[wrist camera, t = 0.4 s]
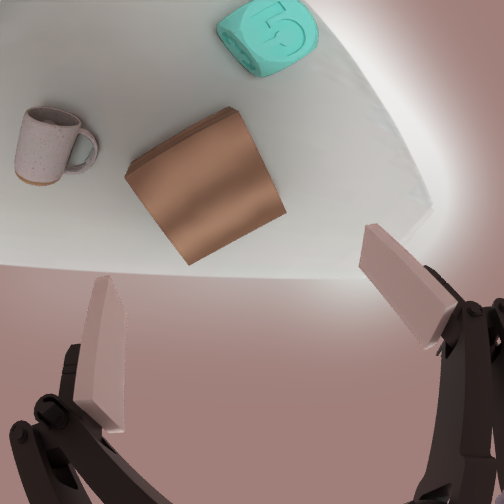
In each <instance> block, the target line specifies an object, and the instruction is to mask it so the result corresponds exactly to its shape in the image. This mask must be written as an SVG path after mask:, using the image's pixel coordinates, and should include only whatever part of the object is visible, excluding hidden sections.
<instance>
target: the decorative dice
mask: <svg viewBox="0 0 504 504" xmlns="http://www.w3.org/2000/svg"><path fill="white" fill-rule="evenodd" d="M217 32H218V34H219V36H220V38H221V40H222V41H223V43H224V44H225V46H226V47H227V48H228V50H229V51H230V52H231V53H232V54H233V56H234V57H235V58H236V59H237V60H238V61H239V62H240V63H241V64H242V65H243V66H244V67H245V68H246V69H247V70H248V71H249V72H251V73H252V74H254V75H255V76H257V77H266V76H269V75H271V74H274V73H276V72H278V71H280V70H282V69H284V68H286V67H288V66H290V65H291V64H293V63H295V62H297V61H298V60H300V59H301V58H303V57H305V56H306V55H307V54H309V53H310V52H312V51H313V50H314V49H315V48H316V47H317V43H318V37H319V32H318V27H317V24H316V22H315V20H314V18H313V16H312V15H311V13H310V12H309V11H308V9H307V8H306V7H305V6H304V5H303V4H302V3H301V2H300V1H299V0H252V1H250V2H248V3H247V4H245V5H243V6H242V7H240V8H239V9H237V10H236V11H234V12H233V13H231V14H230V15H228V16H227V17H226V18H224V19H223V20H222V21H221V22H219V23H218V24H217Z"/></svg>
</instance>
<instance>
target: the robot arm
mask: <svg viewBox="0 0 504 504" xmlns="http://www.w3.org/2000/svg"><path fill="white" fill-rule="evenodd" d="M359 268H360V269H361V270H362V271H363V272H364V273H365V275H366V276H367V277H368V278H369V279H370V281H371V282H372V283H373V284H374V285H375V287H376V288H377V289H378V290H379V292H380V293H381V294H382V295H383V297H384V298H385V299H386V300H387V301H388V303H389V304H390V305H391V307H392V308H393V309H394V310H395V312H396V313H397V314H398V315H399V317H400V318H401V319H402V321H403V322H404V323H405V325H406V326H407V327H408V328H409V330H410V331H411V332H412V334H413V335H414V336H415V338H416V339H417V340H418V342H419V343H420V344H421V346H422V347H423V348H424V350H426V349H428V348H430V347H432V346H434V345H436V343H437V342H438V340H439V338H440V336H442V338H443V339H444V341H443V343H442V345H441V346H440V348H439V350H438V351H437V354H436V356H438V355H439V354H440V352H441V351H442V355H441V357H442V359H441V376H440V388H439V398H438V407H437V415H436V422H435V428H434V434H433V440H432V446H431V450H430V455H429V460H428V465H427V469H426V472H425V475H424V477H423V478H422V480H421V481H420V483H419V485H418V487H417V489H416V492H415V495H414V499H413V501H410V502H407V503H405V504H447V501H448V500H449V498H450V501H449V504H491V501H492V496H493V491H494V485H495V479H496V472H497V473H498V480H499V484H500V489H501V492H502V494H501V495H499V496H498V497H497V498H496V501H495V504H504V299H503V298H497V299H496V300H495V301H494V302H493V304H492V306H491V307H482V306H481V305H479V304H478V303H476V302H473V301H467V302H465V301H464V300H463V299H462V298H461V297H460V295H459V294H458V293H457V292H456V291H455V290H454V289H453V288H452V287H451V286H450V285H449V284H448V283H446V281H445V280H444V279H443V278H441V276H440V275H439V274H438V273H437V272H436V271H435V270H433V269H432V268H430V267H428V266H426V265H425V266H422V265H421V264H420V263H419V262H418V261H417V260H416V259H415V258H414V257H413V256H412V255H411V254H410V253H409V252H408V251H407V250H406V249H405V248H404V247H402V246H401V245H400V244H399V243H398V242H397V241H396V240H395V239H394V238H393V237H392V236H390V235H389V234H388V233H387V232H386V231H385V230H384V229H383V228H382V227H380V226H379V225H378V224H377V223H376V224H370V225H365V232H364V239H363V245H362V251H361V257H360V262H359ZM127 319H128V315H127V313H126V311H125V309H124V307H123V304H122V302H121V300H120V298H119V296H118V293H117V291H116V289H115V287H114V284H113V282H112V279H111V277H110V275H108V276H104V277H98V278H96V279H95V283H94V287H93V291H92V295H91V299H90V303H89V307H88V312H87V317H86V321H85V326H84V331H83V336H82V342H81V344H74V345H71V346H70V348H69V349H68V351H67V353H66V355H65V360H64V367H63V370H62V376H61V383H60V390H59V396H56V395H54V394H46V395H44V396H42V397H41V398H40V399H39V400H38V401H37V402H36V405H35V407H34V416H35V419H36V420H37V421H38V422H39V423H37V424H35V425H32V426H31V425H30V424H29V423H27V422H26V421H22V420H21V421H17V422H16V423H15V424H13V426H12V428H11V429H10V434H9V438H10V443H11V447H12V451H13V455H14V459H15V462H16V465H17V468H18V472H19V475H20V478H21V481H22V484H23V487H24V490H25V492H26V495H27V498H28V500H29V503H30V504H92V502H91V501H90V499H89V497H88V495H87V493H86V491H85V490H84V487H83V485H82V483H81V482H80V479H79V477H78V476H77V473H76V471H75V469H76V470H77V472H78V473H79V474H80V475H81V477H82V478H83V479H84V481H85V482H86V483H87V484H88V485H89V487H90V488H91V489H92V490H93V491H94V493H95V494H96V495H97V496H98V497H99V498H100V499H101V501H102V502H103V503H104V504H172V503H171V502H170V501H169V500H167V499H166V498H165V497H164V496H163V495H161V494H160V493H159V492H158V491H157V490H156V489H155V488H153V487H152V486H151V485H150V484H149V483H148V482H147V481H146V480H145V479H143V478H142V477H141V476H140V475H139V474H138V473H137V472H136V471H135V470H134V469H133V468H132V467H131V466H130V465H129V464H128V463H127V462H126V461H125V460H124V459H123V458H122V457H121V456H120V455H119V454H118V452H116V451H115V449H114V448H113V447H112V446H111V445H110V444H109V443H108V442H107V440H106V439H105V438H104V437H102V428H103V429H104V430H105V431H107V432H108V433H117V432H125V415H124V414H125V411H124V383H125V382H124V381H125V351H126V333H127ZM499 337H500V340H501V343H500V344H499V345H498V343H497V340H498V338H499ZM492 428H493V435H494V443H495V452H496V459H495V458H494V457H492V456H491V454H490V448H491V435H492ZM74 468H75V469H74Z"/></svg>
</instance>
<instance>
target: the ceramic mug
mask: <svg viewBox="0 0 504 504" xmlns="http://www.w3.org/2000/svg"><path fill="white" fill-rule="evenodd" d="M78 134H83V135H85V136H86V137H88V138H89V139H90V140H91V141H92V143H93V148H92V150H91V153H90V155H89V157H88V158H87V159H86V160H85V163H84V164H83V165H81V166H78V167H66V164H67V161H68V158H69V155H70V152H71V150H72V147H73V145H74V142H75V140H76V137H77V135H78ZM97 153H98V146H97V142H96V140H95V138H94V136H93V135H92V134H91V133H90V132H89V131H87V130H85V129H83V128H81V121H80V120H79V118H77V117H76V116H74V115H73V114H70V113H68V112H66V111H63V110H60V109H56V108H50V107H34V108H30V109H28V110H27V111H26V112H25V114H24V118H23V122H22V127H21V131H20V135H19V140H18V145H17V150H16V155H15V173H16V175H17V176H18V177H19V178H20V179H21V180H22V181H24V182H26V183H28V184H32V185H38V186H46V185H50V184H53V183H55V182H57V181H58V180H59V179H60V177H61V175H62V174H63V173H66V174H78V173H82V172H84V171H85V170H87V169H88V168H89V167H90V166H91V165H92V164H93V162H94V161H95V158H96V156H97Z"/></svg>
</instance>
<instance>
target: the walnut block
mask: <svg viewBox="0 0 504 504" xmlns="http://www.w3.org/2000/svg"><path fill="white" fill-rule="evenodd" d="M124 178H125V179H126V181H127V182H128V184H129V185H130V186H131V188H132V189H133V191H134V192H135V193H136V195H137V196H138V198H139V199H140V201H141V202H142V203H143V205H144V206H145V207H146V209H147V210H148V212H149V213H150V214H151V216H152V217H153V219H154V220H155V221H156V223H157V224H158V225H159V227H160V228H161V229H162V231H163V232H164V233H165V235H166V236H167V237H168V239H169V240H170V241H171V243H172V244H173V245H174V247H175V248H176V249H177V251H178V252H179V253H180V255H181V256H182V257H183V259H184V260H185V261H186V262H187V264H188V265H191V264H193V263H195V262H196V261H198V260H200V259H202V258H204V257H206V256H207V255H209V254H211V253H213V252H215V251H217V250H218V249H220V248H222V247H224V246H226V245H228V244H229V243H231V242H233V241H235V240H237V239H239V238H240V237H242V236H244V235H246V234H248V233H250V232H252V231H253V230H255V229H257V228H259V227H261V226H263V225H265V224H267V223H268V222H270V221H272V220H274V219H276V218H278V217H280V216H282V215H283V214H285V213H287V212H286V210H285V208H284V206H283V203H282V201H281V199H280V197H279V195H278V192H277V190H276V188H275V186H274V184H273V182H272V179H271V177H270V175H269V173H268V171H267V169H266V167H265V165H264V162H263V160H262V158H261V156H260V154H259V152H258V150H257V148H256V146H255V144H254V142H253V140H252V138H251V136H250V134H249V131H248V129H247V127H246V125H245V123H244V121H243V119H242V117H241V115H240V113H239V111H237V110H235V109H233V108H231V107H227V108H225V109H223V110H221V111H219V112H217V113H215V114H213V115H211V116H209V117H208V118H206V119H204V120H202V121H200V122H198V123H196V124H195V125H193V126H191V127H189V128H187V129H186V130H184V131H182V132H180V133H179V134H177V135H175V136H174V137H172V138H170V139H168V140H167V141H165V142H163V143H162V144H160V145H159V146H157V147H155V148H154V149H152V150H150V151H149V152H147V153H146V154H144V155H143V156H141V157H139V158H138V159H136V160H135V161H133V162H132V163H131V164H130V166H129V168H128V170H127V173H126V175H125V177H124Z"/></svg>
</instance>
